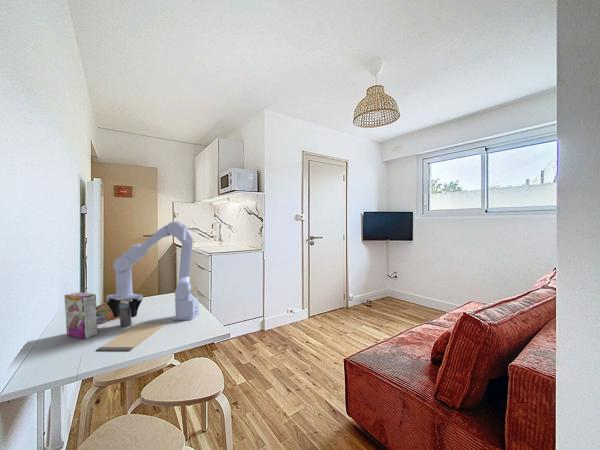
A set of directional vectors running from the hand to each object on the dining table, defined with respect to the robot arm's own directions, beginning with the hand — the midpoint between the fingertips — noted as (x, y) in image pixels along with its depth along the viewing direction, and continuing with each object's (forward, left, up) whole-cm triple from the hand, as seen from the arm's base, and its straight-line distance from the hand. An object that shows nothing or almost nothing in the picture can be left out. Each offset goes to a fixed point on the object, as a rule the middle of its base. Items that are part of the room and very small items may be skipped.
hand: (125, 316), depth 107 cm
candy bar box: (+11, +9, -4) cm, 15 cm away
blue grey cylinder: (0, 0, -4) cm, 4 cm away
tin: (+11, -7, -4) cm, 14 cm away
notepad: (-11, +10, -4) cm, 15 cm away
